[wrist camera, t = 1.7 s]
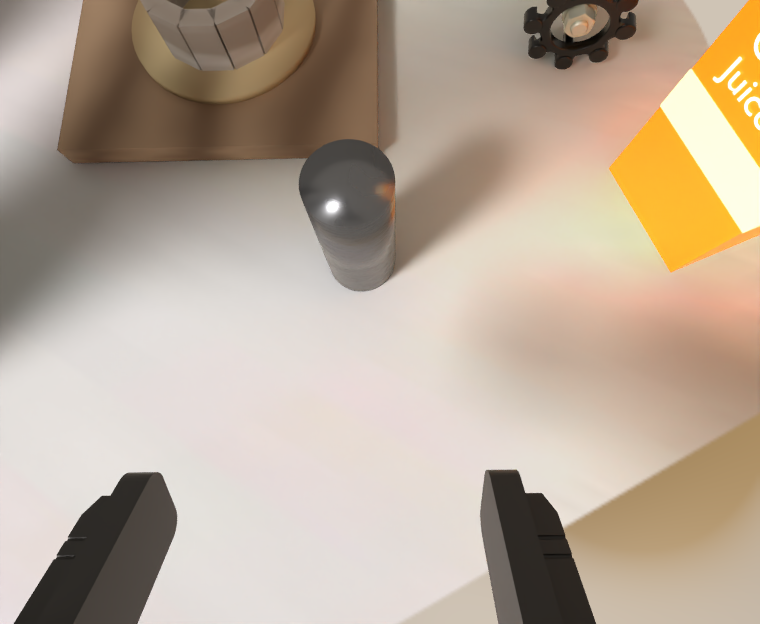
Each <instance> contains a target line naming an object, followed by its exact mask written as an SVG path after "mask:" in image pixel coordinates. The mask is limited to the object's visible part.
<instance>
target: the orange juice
mask: <svg viewBox="0 0 760 624" xmlns="http://www.w3.org/2000/svg"><path fill="white" fill-rule="evenodd" d="M609 169H610V171H611V173H612V174H613V176H614V178H615V180H616V181H617V183H618V185H619V186H620V188H621V190H622V191H623V193H624V195H625V196H626V198H627V200H628V201H629V203H630V205H631V206H632V208H633V210H634V211H635V213H636V215H637V216H638V218H639V220H640V222H641V223H642V225H643V227H644V228H645V230H646V232H647V233H648V235H649V237H650V238H651V240H652V242H653V243H654V245H655V247H656V248H657V250H658V252H659V253H660V255H661V257H662V258H663V260H664V262H665V263H666V265H667V267H668V269H669V270H670V272H673V271H675V270H677V269H680V268H682V267H685V266H687V265H689V264H692V263H694V262H696V261H699V260H701V259H704V258H706V257H708V256H711V255H713V254H715V253H718V252H720V251H722V250H725V249H727V248H730V247H732V246H734V245H737V244H739V243H741V242H744V241H746V240H749V239H751V238H753V237H756V236H758V235H760V0H749V1H748V2H747V3H746V4H745V6H744V7H743V8H742V9H741V11H740V12H739V13H738V14H737V15H736V17H735V18H734V19H733V20H732V21H731V22H730V24H729V25H728V26H727V27H726V29H725V30H724V31H723V32H722V33H721V34H720V36H719V37H718V38H717V39H716V40H715V42H714V43H713V44H712V45H711V46H710V48H709V49H708V50H707V51H706V52H705V54H704V55H703V56H702V57H701V58H700V60H699V61H698V62H697V63H696V64H695V66H694V67H693V68H691V69H690V70H689V71H688V72H687V73H686V75H685V76H684V77H683V78H682V79H681V81H680V82H679V83H678V84H677V86H676V87H675V88H674V89H673V90H672V92H671V93H670V94H669V95H668V96H667V98H666V99H665V100H664V101H663V102H662V104H661V105H660V108H659V109H658V110H657V111H656V112H655V114H654V115H653V116H652V117H651V118H650V120H649V121H648V122H647V123H646V124H645V126H644V127H643V128H642V129H641V130H640V132H639V133H638V134H637V135H636V136H635V138H634V139H633V140H632V141H631V142H630V144H629V145H628V146H627V147H626V148H625V150H624V151H623V152H622V153H621V154H620V156H619V157H618V158H617V159H616V160H615V162H614V163H613V164H612V165H611V166H610V168H609Z"/></svg>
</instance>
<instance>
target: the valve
mask: <svg viewBox="0 0 760 624" xmlns="http://www.w3.org/2000/svg"><path fill="white" fill-rule="evenodd" d="M638 1H639V0H547V4H548V6H549V7H548V9H547V10H546V12H545V13H544V14H539V13H537V7H531V8H529V9H528V10H527V11H526V12H525V14H524V31H525V32H526V33H528V34H535V33H540V36H541V37H540V38H539V39H536V37H535V36H534V35H533V36H532V37H531V38H530V39H529V46H528V54H529V56H530V57H531V58H534V59H538V58H541V57H543V56H544V55H545V54H546V52H553V53H555V67H556V68H557V69H567V68H569V67H570V66H571V65H572V63H573V58H574V57H575V56H577V55H582V54H588V55H589V59H590V61H591V62H595V63H597V62H601V61H603V60H605V59H606V58H607V56H608V40H609V39H611V38H613V37H616V38H618V39H620V40H625V39H628V38H630V37H632V36H633V35H634V34H635V32H636V15H635V14H634V13H632V12H629V13H628V16H627V18H626V19H622V18H621V17H620V15H621V13H622V12H627V11H630V10H632V9H633V8H635V7H636V5H637V4H638ZM597 5H598V6H601V7H603V8H604V9H605V10H606V11H607V12H608V14H609V16H610V17H609V20H608V22H607V24H606V25H605V27H604V28H603V29H602V30H601V31H600V32H599V33H597V34H596V35H594V36H593V37H591V38H589V39H586V40H583V41H580V42H573V38H576V37H581V36H584V35H586V34H588V33H590V31H591V29H592V27H593V25H594V23H595V17H596V15H597ZM561 13H562V22H563V24H564V29H563V31H564V35H563V41H561V40H559V39H557V38H556V37H554V35H553V34H552V32H551V30H550V28H551V25H552V23H553V21H554V20H555V19H556V18H557V17H558V16H559V15H560V14H561Z"/></svg>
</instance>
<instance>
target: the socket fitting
mask: <svg viewBox="0 0 760 624" xmlns="http://www.w3.org/2000/svg"><path fill="white" fill-rule="evenodd" d="M342 139H355V140H361V141H364V142H367V143H369V144H372V145H373V146H375V147H377V148H378V46H377V0H83V4H82V10H81V16H80V22H79V27H78V33H77V39H76V45H75V51H74V56H73V62H72V68H71V74H70V79H69V85H68V91H67V97H66V102H65V108H64V114H63V120H62V126H61V131H60V137H59V143H58V149H57V150H58V151H59V152H60V153H61V154H63V155H64V156H65V157H66V158H68V159H69V160H70V161H71V162H73V163H97V162H145V161H192V160H240V159H288V158H309V156H310V155H311V154H312V153H313V152H315V151H316V150H317V149H318V148H320V147H322V146H323V145H325V144H327V143H330V142H333V141H336V140H342Z"/></svg>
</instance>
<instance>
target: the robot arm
mask: <svg viewBox="0 0 760 624" xmlns="http://www.w3.org/2000/svg"><path fill="white" fill-rule="evenodd" d="M480 517H481V530H482V537H483V542H484V548H485V553H486V559H487V564H488V570H489V575H490V580H491V586H492V591H493V597H494V601H495V607H496V613H497V618H498V623H499V624H596V622H595V619H594V616H593V613H592V611H591V608H590V605H589V602H588V599H587V596H586V593H585V590H584V588H583V585H582V582H581V579H580V576H579V573H578V570H577V567H576V565H575V562H574V559H573V558H572V553H571V550H570V548H569V544H568V542H567V540H566V538H565V533H564V530H563V527H562V524H561V521H560V518H559V516H558V513H557V511H556V510H555V509H554V508H553V506H552V505H551V504H550V503H549V501H548V500H547V499H546V498H545V496H544V495H543V494H542V493H525V491H524V487H523V484H522V481H521V477H520V474H519V472H518V471H517V470H486V471H485V477H484V485H483V493H482V501H481V511H480ZM176 525H177V512H176V508H175V506H174V503H173V501H172V498H171V496H170V493H169V491H168V488H167V486H166V484H165V481H164V479H163V476H162V475H161V474H160V473H158V472H142V473H126V474H125V475H124V476H123V477H122V478H121V479H120V481H119V482H118V484H117V486H116V487H115V489H114V491H113V493H112V494H111V496H101V497H100V498H99V499H98V500H97V501H96V502H95V503H94V504H93V505H92V506H91V507H90V508H88V509H87V510H86V511H85V512H84V513H83V514H82V515H81V517H80V518H79V520H78V522H77V523H76V525H75V526H74V528H73V530H72V531H71V533H70V534H69V536H68V540H67V541H65V542H64V544H63V546H62V547H61V549H60V550H59V552H58V554H57V558H56V559H54V560H53V562H52V563H51V565H50V566H49V568H48V570H47V571H46V573H45V574H44V576H43V578H42V579H41V581H40V582H39V584H38V586H37V587H36V589H35V590H34V592H33V594H32V595H31V597H30V598H29V600H28V602H27V603H26V605H25V606H24V608H23V610H22V611H21V613H20V614H19V616H18V618H17V619H16V621H15V622H14V624H137V623H138V621H139V619H140V616H141V614H142V611H143V609H144V607H145V604H146V602H147V599H148V597H149V595H150V592H151V590H152V587H153V585H154V583H155V580H156V578H157V575H158V573H159V571H160V568H161V566H162V564H163V561H164V559H165V556H166V554H167V552H168V549H169V547H170V544H171V542H172V540H173V537H174V534H175V531H176Z"/></svg>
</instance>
